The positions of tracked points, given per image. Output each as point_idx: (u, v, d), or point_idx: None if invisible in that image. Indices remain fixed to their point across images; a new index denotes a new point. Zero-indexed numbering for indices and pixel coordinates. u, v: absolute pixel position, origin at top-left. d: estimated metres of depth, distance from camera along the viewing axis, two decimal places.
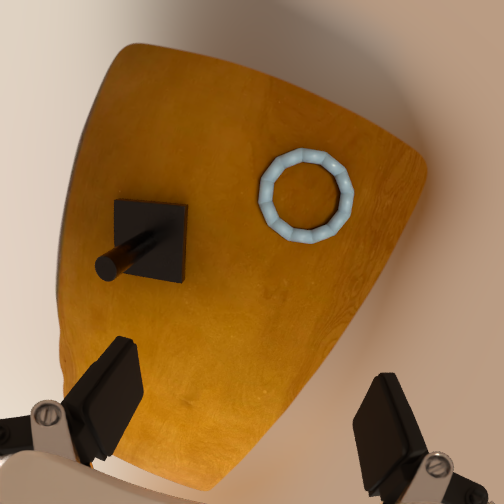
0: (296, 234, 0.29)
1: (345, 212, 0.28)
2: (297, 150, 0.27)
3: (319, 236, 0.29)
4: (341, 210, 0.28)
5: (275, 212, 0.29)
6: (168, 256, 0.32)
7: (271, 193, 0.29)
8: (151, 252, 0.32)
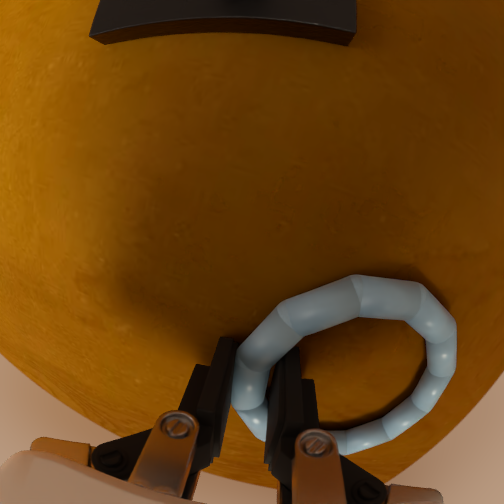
0: (255, 380, 0.10)
1: None
2: (455, 363, 0.09)
3: (252, 421, 0.10)
4: None
5: None
6: None
7: (379, 317, 0.09)
8: None
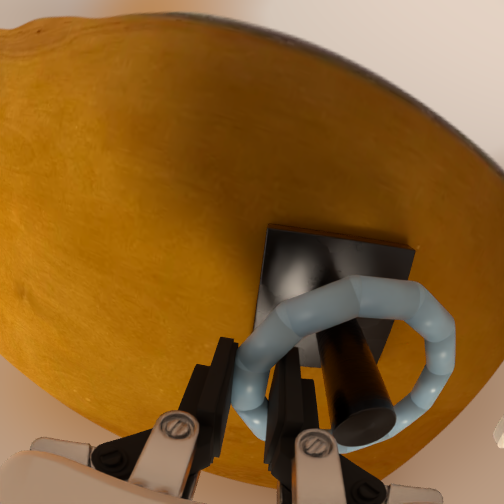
0: (255, 381, 0.10)
1: None
2: (454, 361, 0.09)
3: (253, 421, 0.10)
4: None
5: (321, 329, 0.09)
6: (300, 346, 0.17)
7: (378, 317, 0.09)
8: None
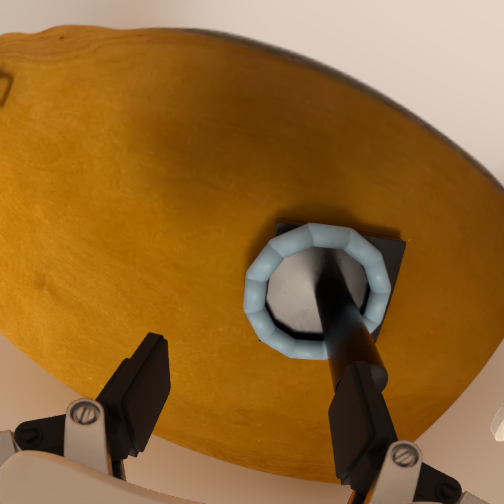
0: (258, 288, 0.18)
1: (295, 353, 0.19)
2: (389, 284, 0.17)
3: (257, 322, 0.18)
4: (297, 347, 0.19)
5: (294, 253, 0.17)
6: (304, 328, 0.20)
7: (326, 246, 0.17)
8: (313, 302, 0.19)
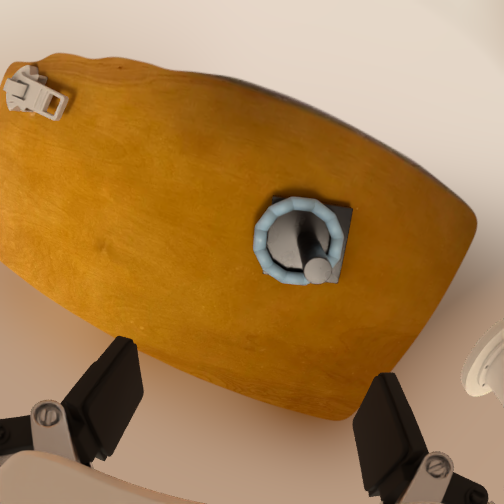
0: (262, 235, 0.31)
1: (285, 279, 0.32)
2: (342, 233, 0.30)
3: (262, 256, 0.31)
4: (287, 275, 0.32)
5: (282, 213, 0.30)
6: (291, 263, 0.33)
7: (301, 209, 0.30)
8: (295, 246, 0.32)
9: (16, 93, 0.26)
